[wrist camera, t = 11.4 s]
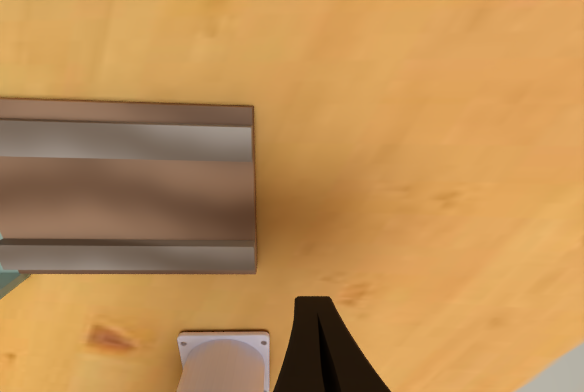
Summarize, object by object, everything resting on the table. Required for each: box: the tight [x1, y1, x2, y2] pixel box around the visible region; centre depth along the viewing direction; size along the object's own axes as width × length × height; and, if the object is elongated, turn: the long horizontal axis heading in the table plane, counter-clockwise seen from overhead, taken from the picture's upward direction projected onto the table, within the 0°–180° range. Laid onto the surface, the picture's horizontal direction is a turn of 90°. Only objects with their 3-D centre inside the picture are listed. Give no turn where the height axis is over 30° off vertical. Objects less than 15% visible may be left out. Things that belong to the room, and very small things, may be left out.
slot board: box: [0, 98, 257, 274], centre depth 17 cm, size 12×17×2 cm
